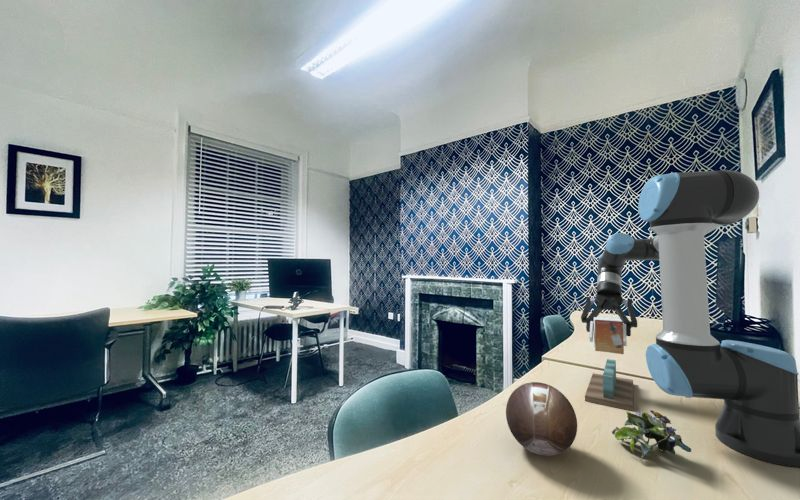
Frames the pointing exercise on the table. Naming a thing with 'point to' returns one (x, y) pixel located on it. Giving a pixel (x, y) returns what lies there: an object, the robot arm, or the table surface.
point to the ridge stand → (610, 388)
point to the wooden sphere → (541, 419)
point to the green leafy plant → (650, 432)
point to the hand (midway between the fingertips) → (607, 341)
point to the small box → (608, 335)
